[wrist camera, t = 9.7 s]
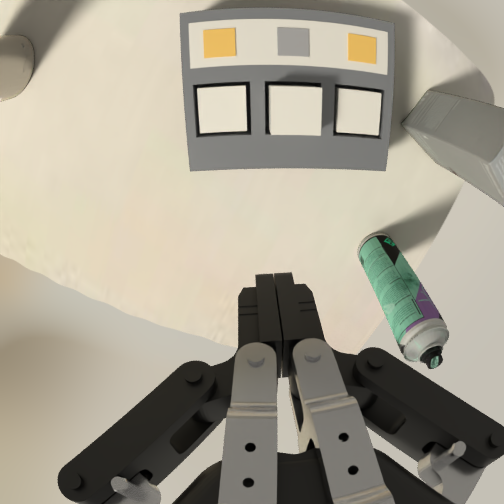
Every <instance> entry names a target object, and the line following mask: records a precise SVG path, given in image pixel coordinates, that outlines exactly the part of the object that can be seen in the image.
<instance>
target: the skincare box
mask: <svg viewBox="0 0 504 504" xmlns="http://www.w3.org/2000/svg"><path fill="white" fill-rule="evenodd" d="M401 125H402V126H403V127H404V128H405V129H406V130H407V132H408V133H409V134H410V135H411V136H412V137H413V138H414V140H415V141H416V142H417V143H418V144H419V145H420V146H421V147H422V149H423V150H424V151H425V152H426V153H427V154H428V155H429V156H430V157H431V158H432V159H433V160H434V161H435V162H436V163H437V164H439V165H440V166H442V167H444V168H445V169H447V170H449V171H450V172H452V173H454V174H455V175H457V176H459V177H460V178H462V179H464V180H465V181H467V182H468V183H470V184H471V185H473V186H474V187H476V188H478V189H479V190H480V191H482V192H483V193H485V194H486V195H488V196H489V197H491V198H492V199H494V200H495V201H497V202H498V203H499V204H501V205H502V206H503V207H504V108H501V107H497V106H494V105H491V104H487V103H484V102H480V101H476V100H472V99H468V98H464V97H460V96H456V95H451V94H446V93H442V92H436V91H431V90H428V91H427V92H426V93H425V94H424V96H423V97H422V98H421V100H420V101H419V102H418V104H417V105H416V106H415V108H414V109H413V110H412V112H411V113H410V114H409V115H408V117H407V118H406V119H405V120H404V121H403V122H402V124H401Z"/></svg>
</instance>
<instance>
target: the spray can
mask: <svg viewBox="0 0 504 504" xmlns="http://www.w3.org/2000/svg"><path fill="white" fill-rule="evenodd" d="M358 258H359V260H360V262H361V264H362V266H363V268H364V270H365V272H366V274H367V276H368V279H369V281H370V283H371V285H372V287H373V289H374V291H375V293H376V296H377V298H378V300H379V302H380V304H381V306H382V309H383V311H384V313H385V315H386V318H387V320H388V322H389V324H390V327H391V329H392V331H393V334H394V336H395V338H396V341H397V343H398V346H399V348H400V351H401V353H402V354H403V355H404V358H405V359H406V360H407V361H410V362H417V361H419V362H421V363H426V365H427V366H428V368H429V369H434V368H436V367H437V366H439V365H440V364H441V363H442V361H443V358H442V356H441V353H442V350H443V346H444V345H445V343H446V342H447V340H448V338H449V331H448V330H447V326H446V324H445V322H444V320H443V319H442V317H441V315H440V313H439V312H438V310H437V308H436V307H435V305H434V304H433V302H432V300H431V298H430V297H429V295H428V293H427V292H426V290H425V289H424V287H423V285H422V284H421V282H420V281H419V279H418V277H417V276H416V274H415V273H414V271H413V270H412V268H411V267H410V265H409V264H408V262H407V261H406V259H405V258H404V256H403V255H402V253H401V252H400V250H399V249H398V248H397V246H396V245H395V243H394V242H393V240H392V239H391V238H390V237H389V236H388V235H387V234H385V233H373V234H370V235H369V236H367V237H366V238H364V239H363V241H362V242H361V243H360V245H359V247H358Z"/></svg>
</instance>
